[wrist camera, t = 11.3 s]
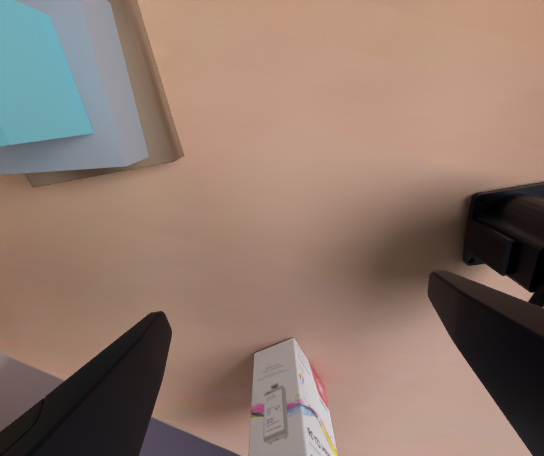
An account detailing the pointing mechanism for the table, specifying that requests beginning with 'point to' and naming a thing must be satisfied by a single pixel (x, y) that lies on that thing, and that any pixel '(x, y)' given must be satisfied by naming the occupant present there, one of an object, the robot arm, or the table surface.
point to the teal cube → (35, 80)
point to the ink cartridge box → (288, 405)
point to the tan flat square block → (147, 98)
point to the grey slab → (87, 95)
